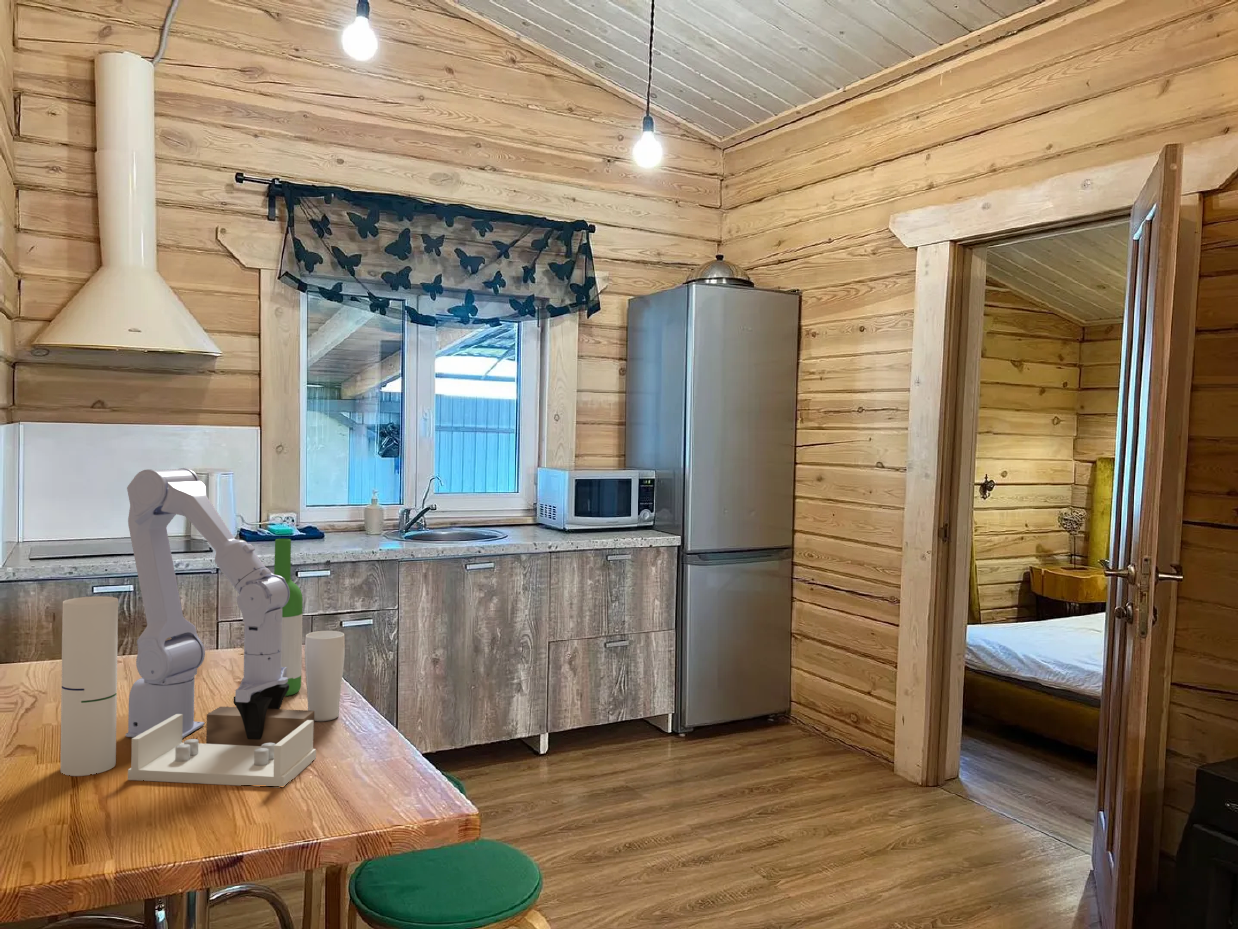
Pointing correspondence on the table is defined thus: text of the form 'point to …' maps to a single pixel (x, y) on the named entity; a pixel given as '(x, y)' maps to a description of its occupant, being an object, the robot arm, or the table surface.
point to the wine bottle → (290, 618)
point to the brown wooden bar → (231, 731)
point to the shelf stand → (218, 758)
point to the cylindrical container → (89, 685)
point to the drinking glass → (324, 672)
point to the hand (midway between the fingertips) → (261, 733)
